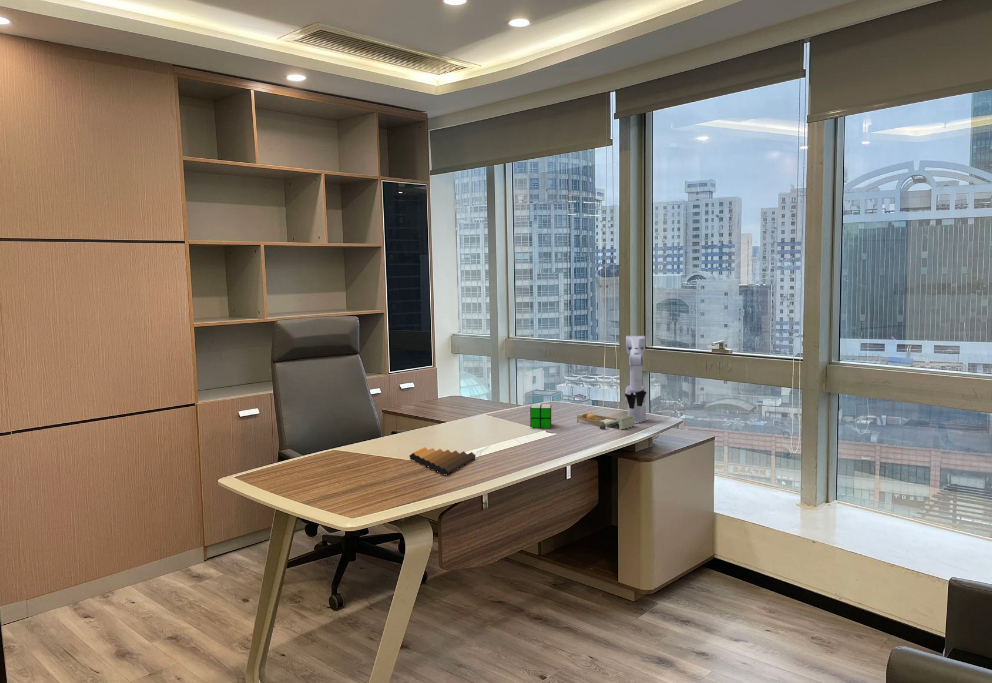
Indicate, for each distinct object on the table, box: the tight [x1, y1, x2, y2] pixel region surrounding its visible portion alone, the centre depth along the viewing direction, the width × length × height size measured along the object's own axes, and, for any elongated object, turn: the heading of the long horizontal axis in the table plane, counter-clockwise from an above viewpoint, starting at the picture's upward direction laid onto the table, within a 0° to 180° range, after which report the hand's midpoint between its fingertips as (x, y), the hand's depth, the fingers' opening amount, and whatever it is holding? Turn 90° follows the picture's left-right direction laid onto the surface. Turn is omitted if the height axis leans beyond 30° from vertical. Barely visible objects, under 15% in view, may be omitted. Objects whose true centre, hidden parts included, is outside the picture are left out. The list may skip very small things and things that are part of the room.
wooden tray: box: [576, 411, 618, 427], centre depth 352 cm, size 11×16×4 cm
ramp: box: [602, 415, 635, 430], centre depth 344 cm, size 10×16×6 cm, turn 46°
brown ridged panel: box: [408, 446, 476, 475], centre depth 278 cm, size 25×3×25 cm
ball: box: [587, 412, 595, 420], centre depth 354 cm, size 4×4×4 cm
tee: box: [599, 425, 607, 430], centre depth 338 cm, size 3×3×2 cm
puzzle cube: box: [529, 403, 552, 429], centre depth 345 cm, size 10×10×10 cm
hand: (635, 407), depth 339 cm, fingers open, 7 cm apart
